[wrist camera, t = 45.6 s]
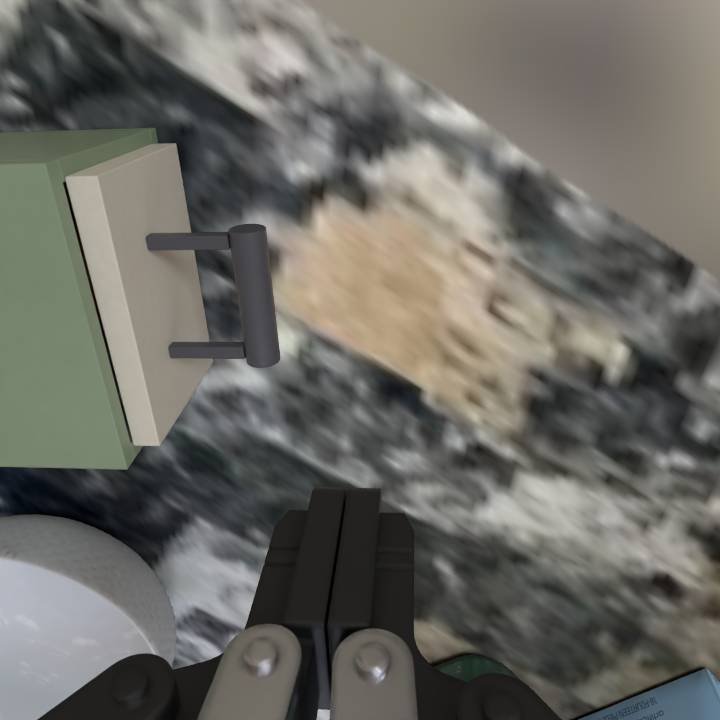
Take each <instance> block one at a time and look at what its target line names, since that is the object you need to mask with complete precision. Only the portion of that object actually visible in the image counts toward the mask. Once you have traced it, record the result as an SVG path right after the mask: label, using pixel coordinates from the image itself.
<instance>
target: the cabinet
mask: <svg viewBox="0 0 720 720" xmlns="http://www.w3.org/2000/svg"><path fill="white" fill-rule="evenodd" d="M151 144H158V139H157V133H156V129H155V128H131V129H98V130H65V131H31V132H0V467H38V468H82V469H128V468H129V466H130V465H131V463H132V462H133V460H134V458H135V457H136V456H137V454H138V453H139V451H140V450H141V449H142V447H143V446H134V444H133V441H132V437H131V433H130V429H129V425H128V421H127V417H126V413H125V410H124V406H123V405H122V406H121V404H120V401H119V397H118V393H117V389H116V385H115V381H114V378H113V374H112V370H111V366H110V362H109V358H108V354H107V351H106V347H105V343H104V339H103V335H102V331H101V327H100V324H99V320H98V316H97V312H96V308H95V304H94V301H93V297H92V293H91V289H90V285H89V281H88V277H87V274H86V270H85V266H84V262H83V258H82V254H81V251H80V247H79V243H78V239H77V235H76V231H75V227H74V224H73V220H72V216H71V212H70V208H69V204H68V200H67V197H66V193H65V189H64V185H63V182H66V180H65V177H66V176H68V175H71V174H73V173H76V172H79V171H81V170H84V169H87V168H89V167H92V166H95V165H97V164H100V163H103V162H105V161H108V160H111V159H113V158H116V157H119V156H121V155H124V154H127V153H129V152H132V151H135V150H137V149H140V148H143V147H145V146H148V145H151Z"/></svg>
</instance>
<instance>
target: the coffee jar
mask: <svg viewBox="0 0 720 720" xmlns="http://www.w3.org/2000/svg"><path fill="white" fill-rule="evenodd" d="M434 668H436V669H438V670H439V671H441V672H443V673H445V674H447V675H450V676H453V677H455V678H458V679H460V680H463V681H466V682H469V681H470V680H471V679H473V678H475V677H477V676H479V675H482V674H487V673H501V674H506V675H509V676H512V677H514V678H517V677H516V676H515V674H514V673H513V672H512V671H510V670H509V669H508V668H507V667H505V666H504V665H503V664H501V663H498V662H496V661H494V660H492V659H489V658H485V657H481V656H478V655H465V656H461V657H458V658H455V659H452V660H450V661H447V662H444V663H442V664H439V665H437V666H434ZM517 679H518V678H517Z"/></svg>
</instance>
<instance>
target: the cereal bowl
mask: <svg viewBox="0 0 720 720" xmlns="http://www.w3.org/2000/svg"><path fill="white" fill-rule="evenodd" d="M176 637H177V636H176V623H175V616H174V613H173V607H172V605H171V603H170V599H169V596H168V595H167V593H166V590H165V588H164V587H163V586H162V583H161V581H160V580H159V578H158V577H157V576H156V574H155V572H154V571H153V570H152V569H151V568H150V567H149V565H148V564H147V563H146V562H145V561H144V560H143V559H142V558H141V557H140V556H139V555H138V554H137V553H136V552H134V551H133V550H132V549H131V548H129V547H128V546H127V545H125V544H123V543H122V542H121V541H119V540H117V539H116V538H114V537H112V536H111V535H110V534H106V533H105V532H103V531H101V530H98V529H97V528H95V527H92V526H90V525H86V524H84V523H82V522H77V521H75V520H71V519H69V518H62V517H55V516H48V515H39V514H38V515H36V514H34V515H13V516H9V517H1V518H0V720H37V719H39V718H40V717H41V716H43V715H44V714H45V713H47V712H48V711H50V710H51V709H52V708H54V707H55V706H56V705H58V704H59V703H61V702H62V701H63V700H65V699H66V698H67V697H69V696H70V695H72V694H73V693H74V692H76V691H77V690H78V689H80V688H81V687H83V686H84V685H85V684H87V683H88V682H89V681H91V680H92V679H93V678H95V677H96V676H98V675H99V674H100V673H102V672H103V671H104V670H106V669H107V668H109V667H110V666H111V665H113V664H114V663H116V662H118V661H119V660H121V659H123V658H126V657H128V656H131V655H136V654H142V653H149V654H155V655H158V656H160V657H162V658H164V659H165V660H166V661H167V662H168V663H169V664H170V666H171V667H172V662H173V660H174V657H175V656H174V652H175V649H176Z"/></svg>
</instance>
